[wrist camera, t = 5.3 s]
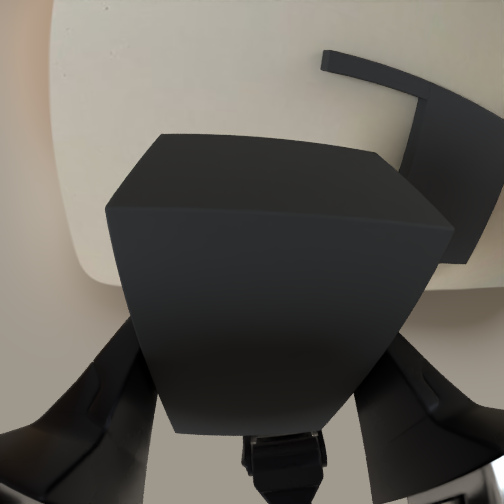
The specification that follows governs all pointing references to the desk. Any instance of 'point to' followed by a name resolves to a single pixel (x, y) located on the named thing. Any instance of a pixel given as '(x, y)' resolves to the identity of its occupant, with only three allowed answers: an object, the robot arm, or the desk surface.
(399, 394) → the robot arm
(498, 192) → the base pad
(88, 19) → the desk surface
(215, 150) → the foam pad
